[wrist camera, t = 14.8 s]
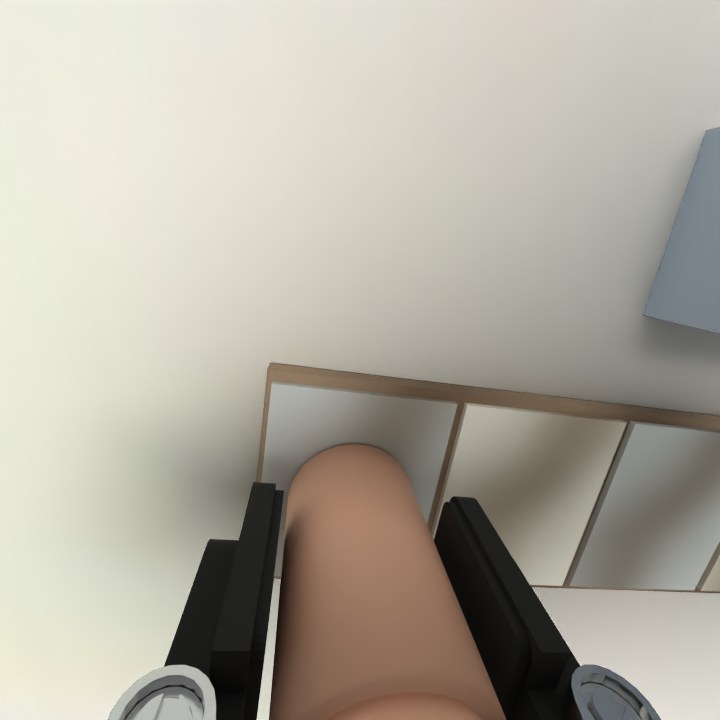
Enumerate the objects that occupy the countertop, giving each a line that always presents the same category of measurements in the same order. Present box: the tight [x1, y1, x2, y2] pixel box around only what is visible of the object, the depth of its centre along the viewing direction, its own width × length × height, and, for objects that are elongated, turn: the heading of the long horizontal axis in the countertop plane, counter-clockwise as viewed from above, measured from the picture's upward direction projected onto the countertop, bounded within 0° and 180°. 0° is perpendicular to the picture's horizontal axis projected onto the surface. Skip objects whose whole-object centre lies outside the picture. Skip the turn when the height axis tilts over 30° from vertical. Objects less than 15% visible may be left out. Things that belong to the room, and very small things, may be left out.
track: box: [257, 363, 720, 593], centre depth 13 cm, size 22×7×1 cm, turn 81°
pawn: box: [269, 444, 506, 720], centre depth 7 cm, size 4×4×8 cm
